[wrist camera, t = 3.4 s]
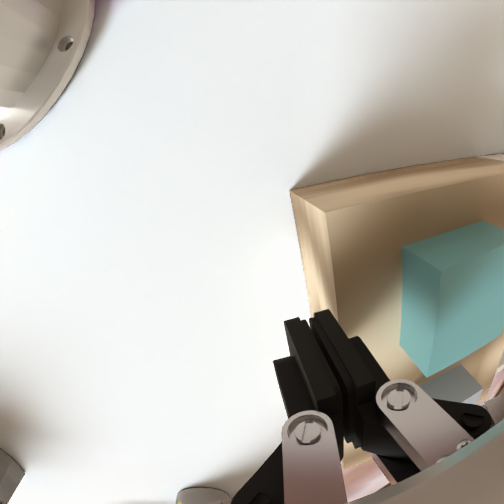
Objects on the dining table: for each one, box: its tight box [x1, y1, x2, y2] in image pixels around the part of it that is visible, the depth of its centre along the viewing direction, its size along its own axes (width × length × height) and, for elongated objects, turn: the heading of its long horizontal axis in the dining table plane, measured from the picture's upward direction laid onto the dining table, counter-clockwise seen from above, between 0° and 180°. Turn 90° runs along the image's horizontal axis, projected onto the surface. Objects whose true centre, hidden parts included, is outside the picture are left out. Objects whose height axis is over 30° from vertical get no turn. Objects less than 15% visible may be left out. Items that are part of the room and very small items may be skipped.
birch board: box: [290, 157, 504, 470], centre depth 16 cm, size 18×13×5 cm
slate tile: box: [419, 364, 483, 405], centre depth 14 cm, size 5×5×2 cm
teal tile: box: [399, 221, 504, 378], centre depth 11 cm, size 5×5×2 cm
